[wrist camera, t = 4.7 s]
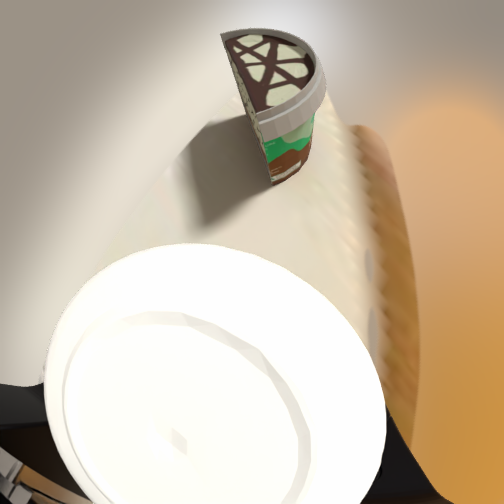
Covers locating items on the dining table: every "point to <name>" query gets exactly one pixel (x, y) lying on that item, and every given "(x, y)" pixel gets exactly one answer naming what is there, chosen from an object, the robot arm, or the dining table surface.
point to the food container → (277, 94)
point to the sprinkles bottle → (211, 385)
